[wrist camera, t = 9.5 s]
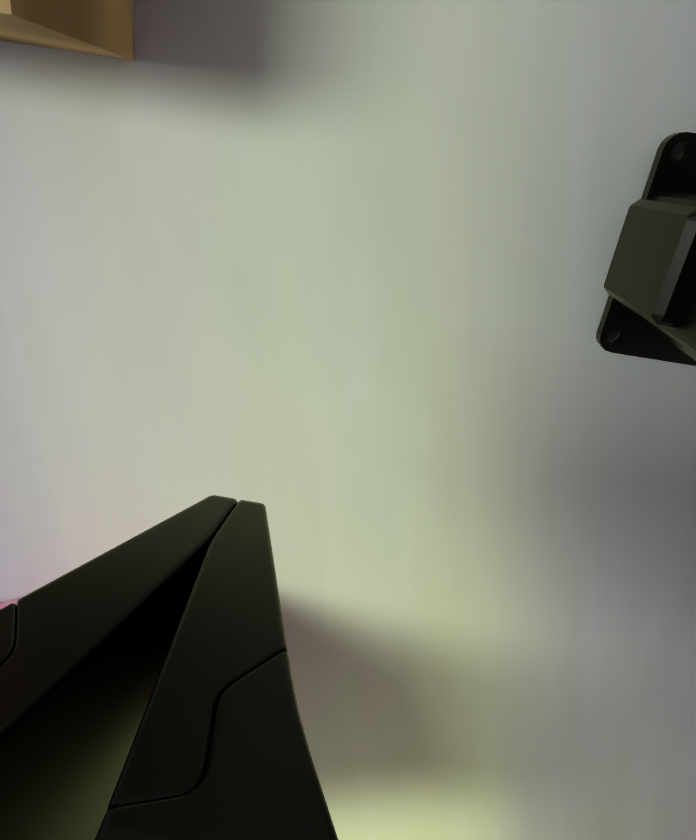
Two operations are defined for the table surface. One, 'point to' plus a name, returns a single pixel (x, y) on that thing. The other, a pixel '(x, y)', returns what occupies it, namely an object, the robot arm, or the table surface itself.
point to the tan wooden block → (71, 25)
